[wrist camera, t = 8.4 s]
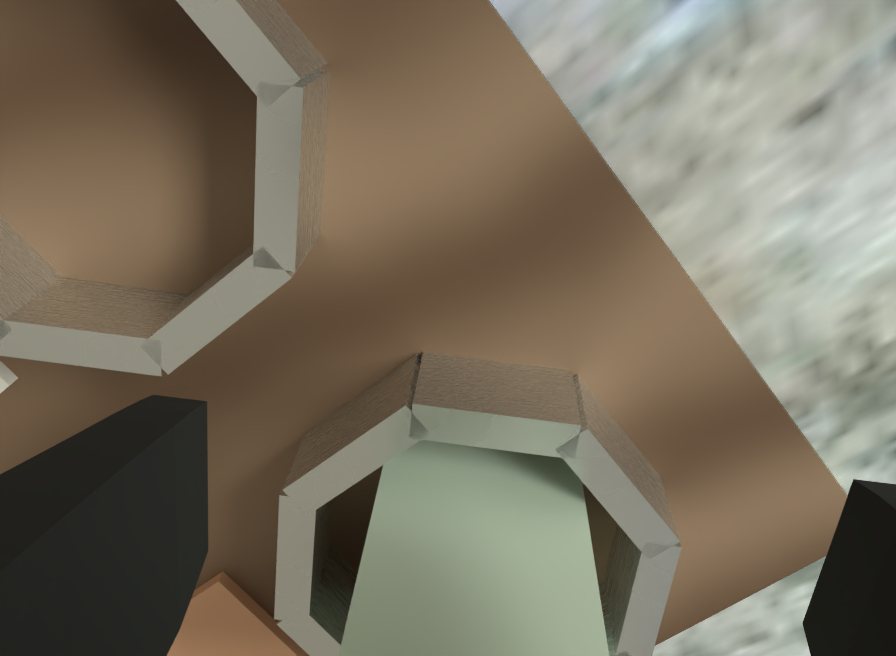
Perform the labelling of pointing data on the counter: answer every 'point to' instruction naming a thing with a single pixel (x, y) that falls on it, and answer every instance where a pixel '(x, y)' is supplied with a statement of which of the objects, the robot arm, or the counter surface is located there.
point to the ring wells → (373, 410)
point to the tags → (220, 614)
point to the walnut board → (384, 271)
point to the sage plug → (476, 559)
